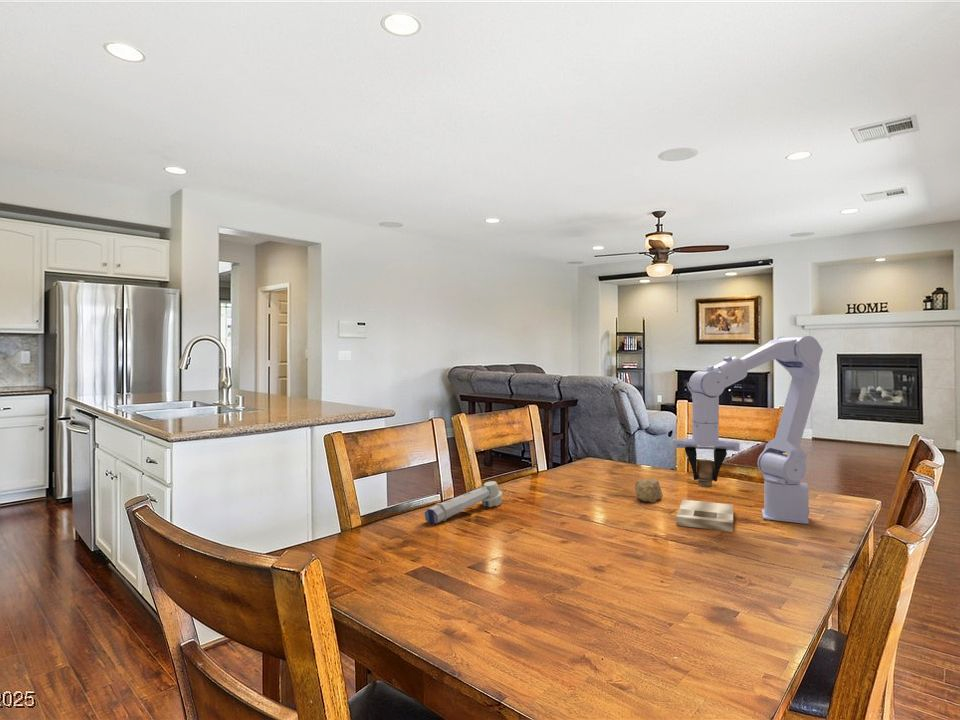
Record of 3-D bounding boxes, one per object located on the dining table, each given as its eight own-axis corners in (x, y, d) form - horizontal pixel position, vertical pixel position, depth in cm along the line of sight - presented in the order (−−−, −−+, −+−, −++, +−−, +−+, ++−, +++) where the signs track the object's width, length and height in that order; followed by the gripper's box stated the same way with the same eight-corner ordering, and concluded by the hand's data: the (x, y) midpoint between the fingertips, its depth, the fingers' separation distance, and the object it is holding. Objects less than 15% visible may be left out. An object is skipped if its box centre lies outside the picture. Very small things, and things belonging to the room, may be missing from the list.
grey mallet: (421, 506, 133) (490, 474, 151) (424, 533, 134) (492, 498, 152) (436, 510, 129) (504, 477, 148) (439, 538, 130) (507, 501, 148)
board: (733, 512, 139) (733, 504, 139) (732, 531, 125) (732, 523, 125) (682, 507, 144) (682, 499, 144) (676, 524, 130) (676, 516, 130)
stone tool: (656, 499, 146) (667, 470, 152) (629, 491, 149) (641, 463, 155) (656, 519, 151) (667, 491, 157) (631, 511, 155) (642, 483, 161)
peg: (712, 485, 132) (713, 460, 132) (714, 488, 129) (714, 462, 129) (696, 483, 134) (696, 458, 134) (696, 487, 130) (697, 461, 130)
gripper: (737, 421, 132) (737, 478, 133) (672, 419, 137) (672, 474, 137) (740, 425, 126) (740, 485, 126) (672, 422, 130) (672, 480, 131)
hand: (705, 479), depth 131 cm, fingers closed on peg, 4 cm apart
